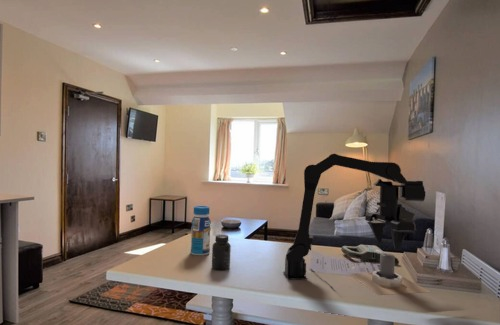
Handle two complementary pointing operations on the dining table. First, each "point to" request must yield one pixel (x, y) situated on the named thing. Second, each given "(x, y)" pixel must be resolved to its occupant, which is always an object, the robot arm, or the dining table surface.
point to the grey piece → (365, 253)
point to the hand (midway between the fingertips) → (387, 246)
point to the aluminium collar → (387, 280)
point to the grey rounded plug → (387, 265)
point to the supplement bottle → (221, 253)
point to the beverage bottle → (200, 231)
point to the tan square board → (382, 290)
